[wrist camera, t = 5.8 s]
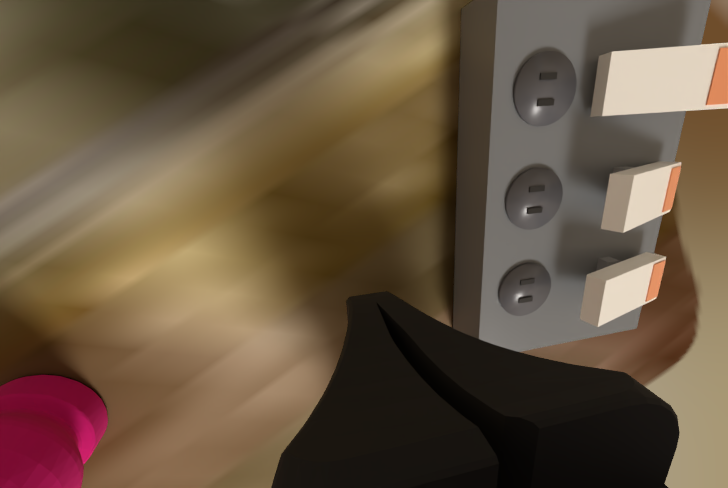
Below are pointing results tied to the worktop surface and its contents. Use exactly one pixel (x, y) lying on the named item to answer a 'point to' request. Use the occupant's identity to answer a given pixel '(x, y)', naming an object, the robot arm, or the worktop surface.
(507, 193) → the power strip
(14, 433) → the pepper mill
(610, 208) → the middle rocker
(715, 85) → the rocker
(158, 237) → the worktop surface
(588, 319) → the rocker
